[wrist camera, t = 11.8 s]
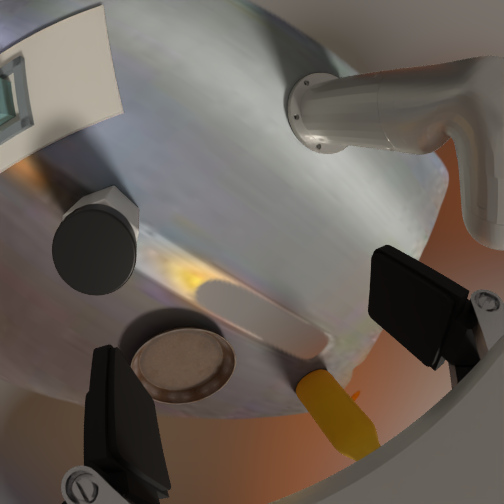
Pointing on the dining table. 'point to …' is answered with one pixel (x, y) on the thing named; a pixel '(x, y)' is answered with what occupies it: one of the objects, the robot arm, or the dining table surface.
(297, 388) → the beer bottle
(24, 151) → the board
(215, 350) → the plant saucer
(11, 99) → the teal block
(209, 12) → the dining table surface
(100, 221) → the jar
